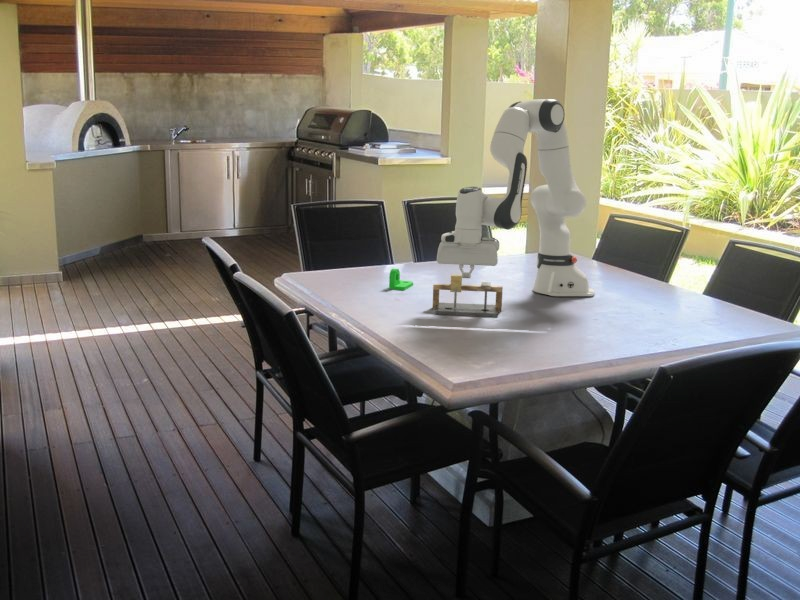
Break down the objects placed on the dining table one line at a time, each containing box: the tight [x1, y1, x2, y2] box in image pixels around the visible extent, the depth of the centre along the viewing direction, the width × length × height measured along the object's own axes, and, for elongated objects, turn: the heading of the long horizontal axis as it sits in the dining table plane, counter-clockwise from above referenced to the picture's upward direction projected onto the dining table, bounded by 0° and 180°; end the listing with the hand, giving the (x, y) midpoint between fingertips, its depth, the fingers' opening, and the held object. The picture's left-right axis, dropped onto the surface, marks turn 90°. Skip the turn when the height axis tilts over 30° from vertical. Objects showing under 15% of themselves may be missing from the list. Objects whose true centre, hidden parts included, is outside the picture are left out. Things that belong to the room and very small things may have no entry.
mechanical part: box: [388, 268, 414, 291], centre depth 316 cm, size 12×6×8 cm, turn 159°
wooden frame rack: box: [432, 281, 504, 312], centre depth 280 cm, size 23×6×9 cm, turn 85°
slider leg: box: [449, 273, 463, 308], centre depth 281 cm, size 4×7×10 cm, turn 175°
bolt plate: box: [435, 302, 499, 318], centre depth 281 cm, size 20×13×1 cm, turn 85°
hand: (466, 277), depth 281 cm, fingers closed
